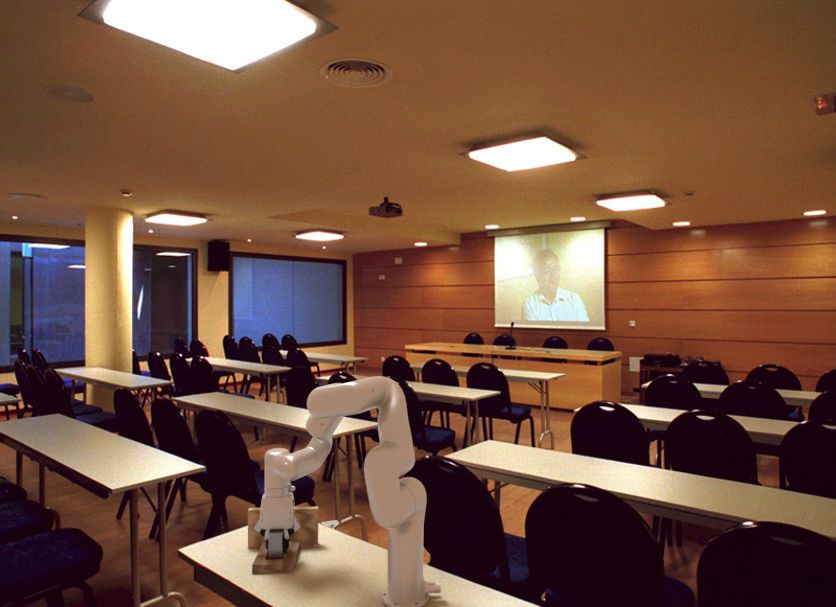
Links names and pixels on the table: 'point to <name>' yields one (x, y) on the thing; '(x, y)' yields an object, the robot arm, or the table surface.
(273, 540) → the tall grey rectangular prism
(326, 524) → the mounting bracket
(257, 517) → the wooden backboard stand
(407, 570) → the robot arm
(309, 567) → the table surface
